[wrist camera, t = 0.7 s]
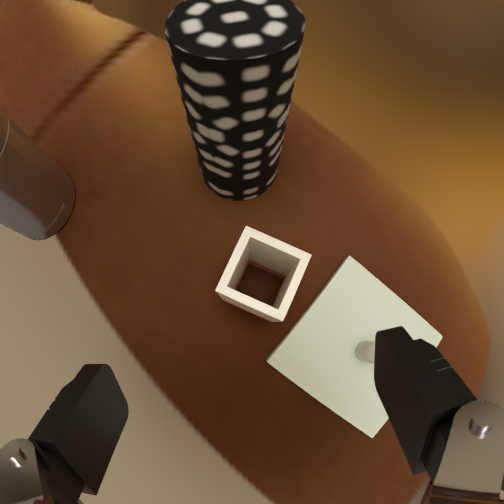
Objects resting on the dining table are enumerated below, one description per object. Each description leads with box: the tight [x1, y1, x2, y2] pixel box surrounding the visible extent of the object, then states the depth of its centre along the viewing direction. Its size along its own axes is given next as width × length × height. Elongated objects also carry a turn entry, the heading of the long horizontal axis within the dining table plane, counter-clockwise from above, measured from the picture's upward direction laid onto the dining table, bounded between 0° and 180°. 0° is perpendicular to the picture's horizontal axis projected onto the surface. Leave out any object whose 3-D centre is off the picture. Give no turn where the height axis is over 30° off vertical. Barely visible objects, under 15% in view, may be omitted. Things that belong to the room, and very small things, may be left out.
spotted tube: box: [165, 0, 305, 200], centre depth 25 cm, size 8×8×20 cm
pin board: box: [266, 256, 443, 438], centre depth 27 cm, size 14×13×8 cm
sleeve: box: [215, 226, 311, 322], centre depth 27 cm, size 5×5×10 cm
